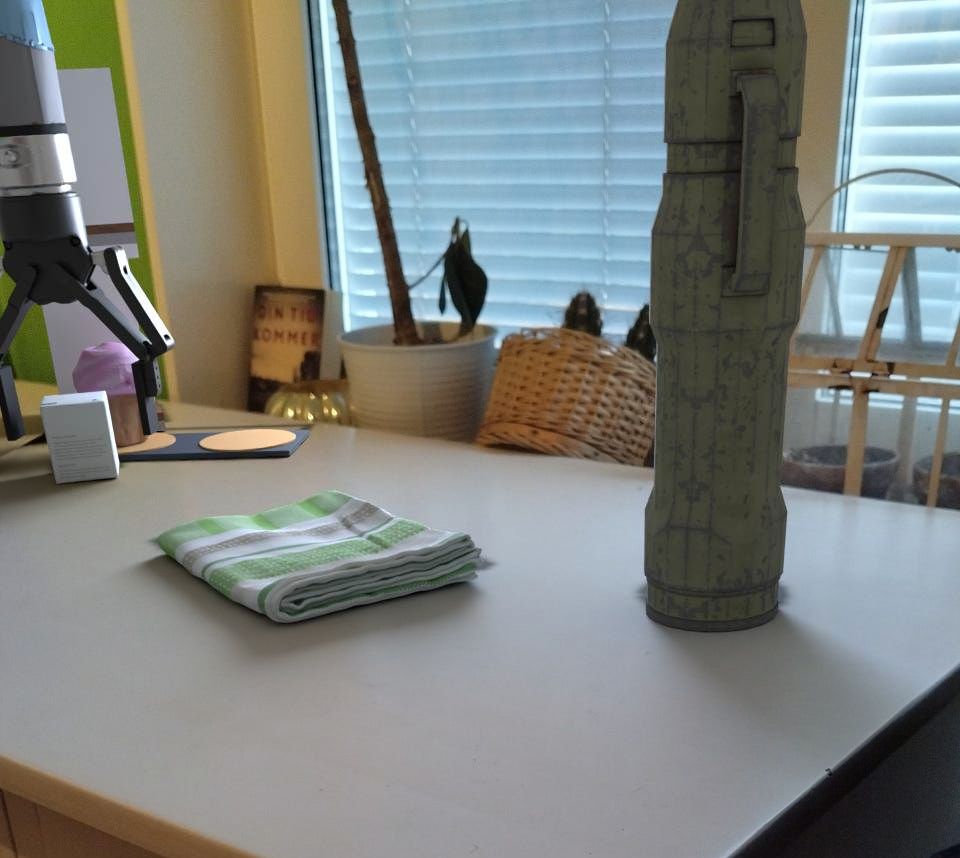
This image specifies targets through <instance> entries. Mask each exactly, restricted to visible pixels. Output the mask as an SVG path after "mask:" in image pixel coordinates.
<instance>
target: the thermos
mask: <svg viewBox="0 0 960 858" xmlns="http://www.w3.org/2000/svg"><path fill="white" fill-rule="evenodd" d="M804 15H805V14H804V12H803V6H802V1H801V0H677V1H676V4H675V7H674V11H673V15H672V18H671V21H670V25H669V28H668V32H667V36H666V40H665V44H664V75H663V77H664V81H663V82H664V83H663V125H662V126H663V128H662V143H663V144H666V145H665V146H666V147H665V148H666V150H665V172H662V174H661V196H660V199H659V203H658V204H657V209H656V212H655V214H654V218H653V222H652V224H651V228H650V243H649V244H650V247H649V248H650V249H649V250H650V251H649V304H648V305H649V307H648V309H649V310H648V323H649V326H650V329H651V331H652V334H653V337H654V340H655V342H656V347H655V348H656V351H655V352H656V353H655V354H656V355H655V357H656V358H655V397H654V398H655V399H654V400H655V402H654V446H653V447H654V448H653V449H654V452H653V453H654V454H653V456H654V457H653V486H652V489H651V491H650V494H649V496H648V500H647V502H646V504H645V507H644V525H643V526H644V528H643V529H644V530H643V531H644V532H643V533H644V534H643V574H644V576H645V579H646V597H645V606H644V607H645V614H646V616H648V617H649V618H650V619H651V620H653V621H655V622H657V623H659V624H661V625H663V626H666V627H671V628H676V629H680V630H686V631H695V632H706V631H707V632H732V631H739V630H747V629H750V628H755V627H758V626H762V625H764V624H766V623H767V622H770V621H771V620H773V619H775V617H776V616H777V614H778V612H779V600H778V599H779V587H780V586H779V584H780V580H781V577H782V575H783V574H784V566H785V553H786V550H785V549H786V539H787V538H786V537H787V526H788V525H787V524H788V523H787V522H788V509H787V505H786V502H785V498H784V495H783V492H782V487H781V481H782V480H781V479H782V464H783V448H784V435H785V420H786V419H785V418H786V404H787V389H788V375H789V374H788V373H789V359H790V346H791V345H790V344H791V339H792V337H793V334H794V333H795V331H796V328H797V326H798V324H799V321H800V319H801V305H802V292H803V291H802V290H803V289H802V288H803V274H804V261H805V246H806V231H807V224H806V220H805V216H804V210H803V207H802V201H801V198H800V194H799V193H800V192H799V190H798V188H799V172H800V168H799V167H797V166H796V164H797V163H796V161H797V146H798V137H802V126H803V124H802V123H803V111H804V110H803V108H804V93H805V81H806V80H805V77H806V65H807V63H806V62H807V49H808V31H807V27H806V21H805V16H804Z"/></svg>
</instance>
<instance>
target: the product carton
mask: <svg viewBox="0 0 960 858" xmlns="http://www.w3.org/2000/svg"><path fill="white" fill-rule="evenodd" d="M39 412H40V416H41V421H42V425H43V426H42V427H43V430H44V434H45V439H46V443H47V448H48V453H49V457H50V461H51V462H50V463H51V466H52V470H53V475H54V480H55V483H56V484H57V485H60V484H69V483H76V482H86V481H95V480H104V479H113V478H114V479H115V478H119V474H120V473H119V471H120V461H119V459H118V454H117V449H116V443H115V438H114V433H113V427H112V422H111V416H110V411H109V405H108V400H107V395H106V392H105V391H98V392H87V393H76V394H64V395H59V394H53V395H52V394H51V395H44V396H43V398H42V401H41V403H40V405H39Z"/></svg>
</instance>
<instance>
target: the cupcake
mask: <svg viewBox="0 0 960 858" xmlns="http://www.w3.org/2000/svg"><path fill="white" fill-rule="evenodd" d="M138 360H139V359H138V358H137V357H136V356H135V355H134V354H133V353H132V352H131V351H130V350H129V349H128V348H127V347H126V346H125V345H124V344H119V343H114V342H104V343H102V344H101V345H99V346H94V347H89V348H86V349H84V350H83V351H82V352H81V355H80V358H79V360H78V363H77V366H76V367H75V369H74V370H73V372H72V377H73V383H74V387H75V389H76V390H77V392H78V393H87V392H98V391H105V392H106V395H107V400H108V405H109V411H110V416H111V422H112V427H113V433H114V438H115V443H116V446H119V447H125V446H130V445H134V444H137V443H140V442H145V441H146V440H147V439H148V438H149V437H150V435H143V430H142V424H141V419H140V413H139V407H138V402H137V396H136V390H135V385H134V379H133V373H132V368H131V364H132V363H134V362H136V361H138ZM155 399H156V397H154V400H155Z"/></svg>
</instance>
